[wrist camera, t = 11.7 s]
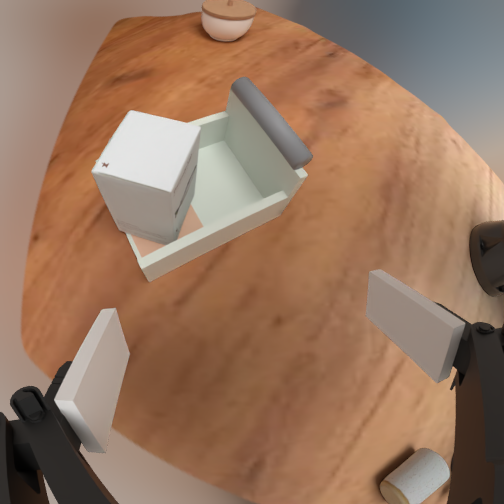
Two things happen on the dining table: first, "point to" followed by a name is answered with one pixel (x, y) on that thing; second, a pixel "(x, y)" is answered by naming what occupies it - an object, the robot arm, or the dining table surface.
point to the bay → (232, 179)
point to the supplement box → (149, 175)
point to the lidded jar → (227, 18)
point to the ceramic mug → (415, 478)
